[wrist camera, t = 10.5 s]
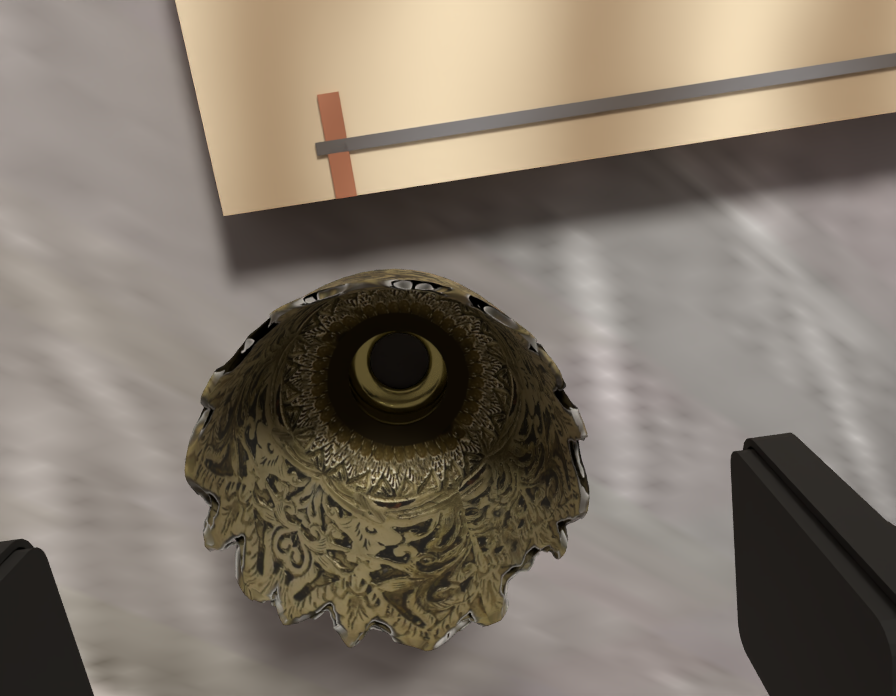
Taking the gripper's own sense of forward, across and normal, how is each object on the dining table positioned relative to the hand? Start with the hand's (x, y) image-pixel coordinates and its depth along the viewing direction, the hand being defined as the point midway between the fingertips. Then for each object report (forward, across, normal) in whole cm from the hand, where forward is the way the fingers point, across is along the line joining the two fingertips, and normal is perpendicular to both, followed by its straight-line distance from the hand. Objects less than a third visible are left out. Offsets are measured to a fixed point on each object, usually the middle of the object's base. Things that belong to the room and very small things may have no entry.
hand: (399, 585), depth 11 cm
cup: (+12, +1, +1) cm, 12 cm away
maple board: (+12, -6, -8) cm, 16 cm away
